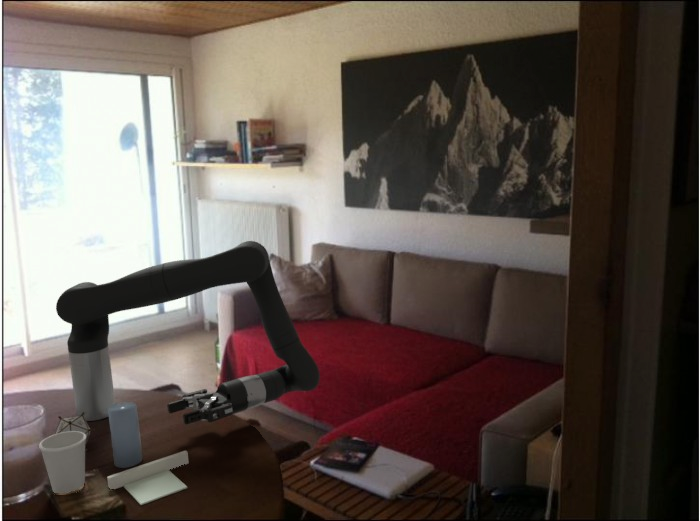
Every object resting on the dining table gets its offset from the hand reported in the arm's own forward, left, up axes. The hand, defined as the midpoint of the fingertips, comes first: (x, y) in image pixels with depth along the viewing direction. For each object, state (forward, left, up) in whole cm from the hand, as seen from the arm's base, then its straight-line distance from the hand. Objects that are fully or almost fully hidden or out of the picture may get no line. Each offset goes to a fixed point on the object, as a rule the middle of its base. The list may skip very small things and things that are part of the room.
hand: (175, 414), depth 142 cm
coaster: (+15, -11, -7) cm, 20 cm away
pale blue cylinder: (0, -11, -7) cm, 13 cm away
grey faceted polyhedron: (-14, -18, -7) cm, 24 cm away
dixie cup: (+3, -24, -7) cm, 25 cm away
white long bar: (+9, -10, -7) cm, 16 cm away
